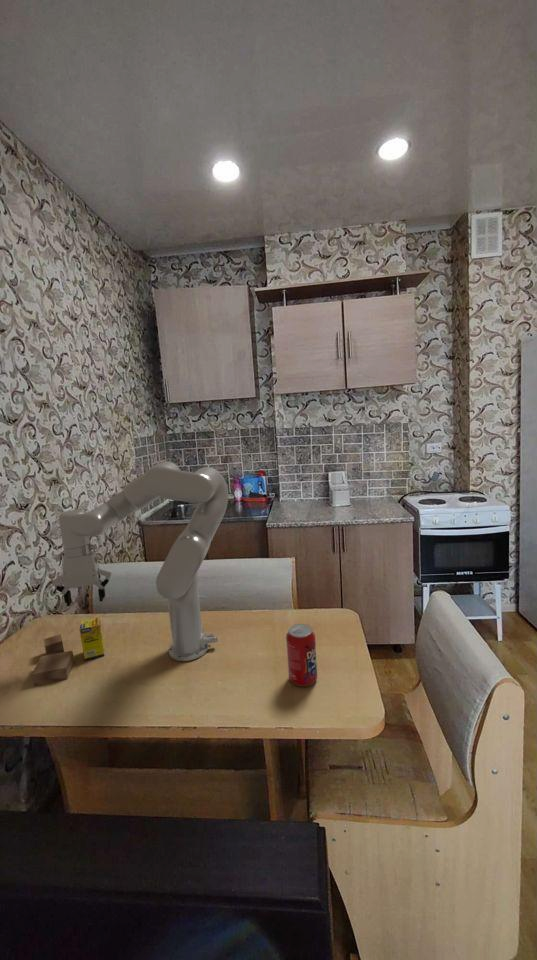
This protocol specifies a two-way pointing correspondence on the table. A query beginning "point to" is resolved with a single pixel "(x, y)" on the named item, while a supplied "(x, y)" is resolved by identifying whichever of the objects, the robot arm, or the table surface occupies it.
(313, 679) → the soda can
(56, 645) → the block
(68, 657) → the base block
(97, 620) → the supplement box
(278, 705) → the table surface
